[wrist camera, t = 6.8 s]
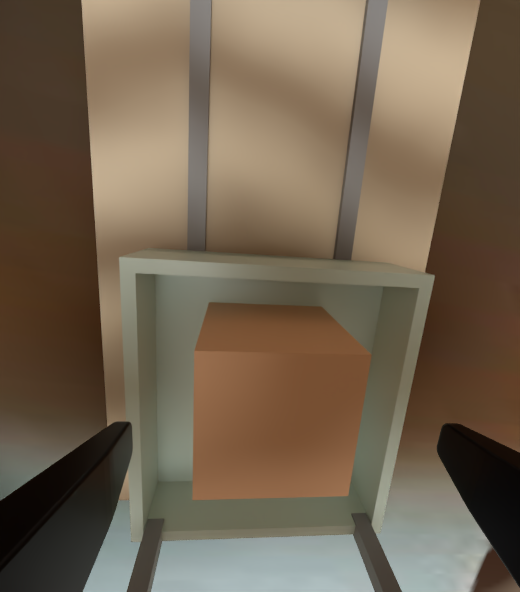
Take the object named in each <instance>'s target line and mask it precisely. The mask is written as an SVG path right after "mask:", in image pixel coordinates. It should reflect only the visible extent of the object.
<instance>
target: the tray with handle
mask: <svg viewBox="0 0 520 592" xmlns="http://www.w3.org/2000/svg"><path fill="white" fill-rule="evenodd" d="M119 269H120V292H121V315H122V338H123V362H124V385H125V408H126V421H129V422H130V423H131V424H132V437H133V452H132V457H131V460H130V464H129V467H128V477H129V501H130V524H131V542H141V544H140V548H139V551H138V554H137V558H136V561H135V565H134V568H133V572H132V575H131V579H130V582H129V586H128V589H127V592H151V589H152V584H153V580H154V575H155V571H156V566H157V562H158V557H159V553H160V548H161V544H162V541H174V540H202V539H231V538H259V537H288V536H316V535H345V534H353V536H354V538H355V541H356V543H357V546H358V549H359V551H360V554H361V557H362V559H363V562H364V564H365V567H366V570H367V572H368V575H369V578H370V580H371V583H372V585H373V588H374V591H375V592H402V591H401V589H400V587H399V584H398V582H397V580H396V578H395V576H394V573H393V571H392V569H391V567H390V565H389V562H388V560H387V558H386V556H385V554H384V551H383V549H382V547H381V545H380V543H379V540H378V538H377V536H376V534H375V533H380V532H381V527H382V522H383V517H384V513H385V508H386V503H387V499H388V494H389V489H390V485H391V480H392V475H393V470H394V466H395V461H396V456H397V452H398V447H399V442H400V438H401V433H402V428H403V423H404V419H405V414H406V409H407V405H408V400H409V395H410V391H411V386H412V381H413V376H414V372H415V367H416V362H417V358H418V353H419V348H420V343H421V339H422V334H423V329H424V325H425V320H426V315H427V311H428V306H429V301H430V296H431V292H432V287H433V282H434V278H435V275H432V274H428V273H424V272H421V271H417V270H413V269H409V268H405V267H402V266H398V265H394V264H390V263H386V262H370V261H354V260H337V259H321V258H305V257H288V256H272V255H256V254H239V253H223V252H207V251H191V250H174V249H158V248H147V249H144V250H140V251H137V252H134V253H131V254H127V255H124V256H121V257H119ZM209 302H217V303H243V304H269V305H294V306H320V307H323V308H324V309H325V310H326V311H327V312H328V313H329V314H330V315H331V316H332V317H333V318H334V319H335V320H336V321H337V322H338V323H339V324H340V325H341V326H342V327H343V328H344V329H345V330H346V331H347V332H348V333H350V334H351V335H352V336H353V337H354V338H355V339H356V340H357V341H358V342H359V343H360V344H361V345H362V346H363V347H364V348H365V349H366V350H367V351H368V352H369V353H370V354H371V355H372V356H371V362H370V368H369V374H368V380H367V386H366V392H365V398H364V404H363V410H362V416H361V422H360V428H359V434H358V440H357V446H356V452H355V458H354V464H353V470H352V476H351V482H350V488H349V494H348V496H334V497H296V498H258V499H220V500H192V494H193V412H194V350H195V347H196V343H197V340H198V337H199V334H200V330H201V327H202V324H203V321H204V317H205V314H206V311H207V307H208V304H209Z"/></svg>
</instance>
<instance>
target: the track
mask: <svg viewBox="0 0 520 592" xmlns="http://www.w3.org/2000/svg"><path fill="white" fill-rule="evenodd" d="M479 4H480V0H82V16H83V32H84V49H85V65H86V82H87V98H88V115H89V131H90V148H91V164H92V181H93V197H94V214H95V230H96V247H97V263H98V280H99V296H100V313H101V329H102V346H103V362H104V379H105V395H106V412H107V427H108V426H109V425H111V424H112V423H114V422H116V421H126V408H125V385H124V362H123V338H122V315H121V292H120V269H119V257H121V256H124V255H127V254H131V253H134V252H137V251H140V250H144V249H147V248H158V249H174V250H191V251H207V252H223V253H239V254H256V255H272V256H288V257H305V258H321V259H337V260H354V261H370V262H386V263H390V264H394V265H398V266H402V267H405V268H409V269H413V270H417V271H421V272H424V273H425V269H426V264H427V259H428V254H429V249H430V245H431V240H432V235H433V230H434V225H435V220H436V215H437V210H438V205H439V200H440V196H441V191H442V186H443V181H444V176H445V171H446V166H447V161H448V156H449V151H450V146H451V142H452V137H453V132H454V127H455V122H456V117H457V112H458V107H459V102H460V97H461V93H462V88H463V83H464V78H465V73H466V68H467V63H468V58H469V53H470V48H471V44H472V39H473V34H474V29H475V24H476V19H477V14H478V9H479ZM119 500H129V477H128V470H127V473H126V477H125V480H124V483H123V487H122V490H121V493H120V496H119Z"/></svg>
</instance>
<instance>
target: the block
mask: <svg viewBox="0 0 520 592" xmlns="http://www.w3.org/2000/svg"><path fill="white" fill-rule="evenodd" d="M371 356H372V355H371V354H370V353H369V352H368V351H367V350H366V349H365V348H364V347H363V346H362V345H361V344H360V343H359V342H358V341H357V340H356V339H355V338H354V337H353V336H352V335H351V334H350V333H348V332H347V331H346V330H345V329H344V328H343V327H342V326H341V325H340V324H339V323H338V322H337V321H336V320H335V319H334V318H333V317H332V316H331V315H330V314H329V313H328V312H327V311H326V310H325V309H324V308H323V307H320V306H294V305H269V304H243V303H217V302H209V304H208V307H207V311H206V314H205V317H204V321H203V324H202V327H201V330H200V334H199V337H198V340H197V343H196V347H195V350H194V412H193V494H192V500H220V499H258V498H296V497H334V496H348V494H349V488H350V482H351V476H352V470H353V464H354V458H355V452H356V446H357V440H358V434H359V428H360V422H361V416H362V410H363V404H364V398H365V392H366V386H367V380H368V374H369V368H370V362H371Z"/></svg>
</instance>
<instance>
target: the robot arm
mask: <svg viewBox="0 0 520 592" xmlns="http://www.w3.org/2000/svg"><path fill="white" fill-rule="evenodd" d="M132 452H133V437H132V424H131V423H130V422H129V421H116V422H114V423H112V424H111V425H109V426H108V427H106V428H105V429H103V430H102V431H100V432H99V433H98V434H96V435H95V436H93V437H92V438H90V439H89V440H87V441H86V442H85V443H83V444H82V445H80V446H79V447H77V448H76V449H74V450H73V451H72V452H70V453H69V454H67V455H66V456H64V457H63V458H62V459H60V460H59V461H57V462H56V463H54V464H53V465H51V466H50V467H49V468H47V469H46V470H44V471H43V472H41V473H40V474H38V475H37V476H36V477H34V478H33V479H31V480H30V481H28V482H27V483H25V484H24V485H23V486H21V487H20V488H18V489H17V490H15V491H14V492H12V493H11V494H10V495H8V496H7V497H5V498H4V499H2V500H1V501H0V592H83V590H84V587H85V585H86V582H87V580H88V577H89V575H90V573H91V570H92V568H93V565H94V563H95V561H96V558H97V556H98V553H99V551H100V548H101V546H102V544H103V541H104V539H105V536H106V534H107V532H108V529H109V527H110V524H111V521H112V519H113V516H114V513H115V510H116V506H117V503H118V500H119V496H120V493H121V490H122V487H123V483H124V480H125V477H126V473H127V470H128V467H129V464H130V460H131V457H132ZM437 452H438V455H439V457H440V459H441V461H442V463H443V464H444V466H445V468H446V470H447V472H448V473H449V475H450V477H451V479H452V481H453V483H454V484H455V486H456V488H457V490H458V492H459V493H460V495H461V497H462V499H463V501H464V502H465V504H466V506H467V508H468V509H469V511H470V513H471V514H472V516H473V517H474V519H475V520H476V522H477V524H478V525H479V527H480V528H481V530H482V531H483V533H484V534H485V536H486V537H487V539H488V540H489V542H490V543H491V545H492V546H493V548H494V549H495V551H496V552H497V554H498V555H499V557H500V559H501V560H502V562H503V563H504V565H505V566H506V568H507V569H508V571H509V572H510V574H511V575H512V577H513V578H514V580H515V581H516V583H517V585H518V586H519V587H520V453H519V452H517V451H515V450H513V449H511V448H509V447H507V446H505V445H502V444H500V443H498V442H496V441H494V440H492V439H490V438H488V437H486V436H484V435H482V434H479V433H477V432H475V431H473V430H471V429H469V428H467V427H465V426H463V425H460V424H457V423H446V424H444V425H443V426H442V428H441V432H440V436H439V440H438V444H437Z"/></svg>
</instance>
